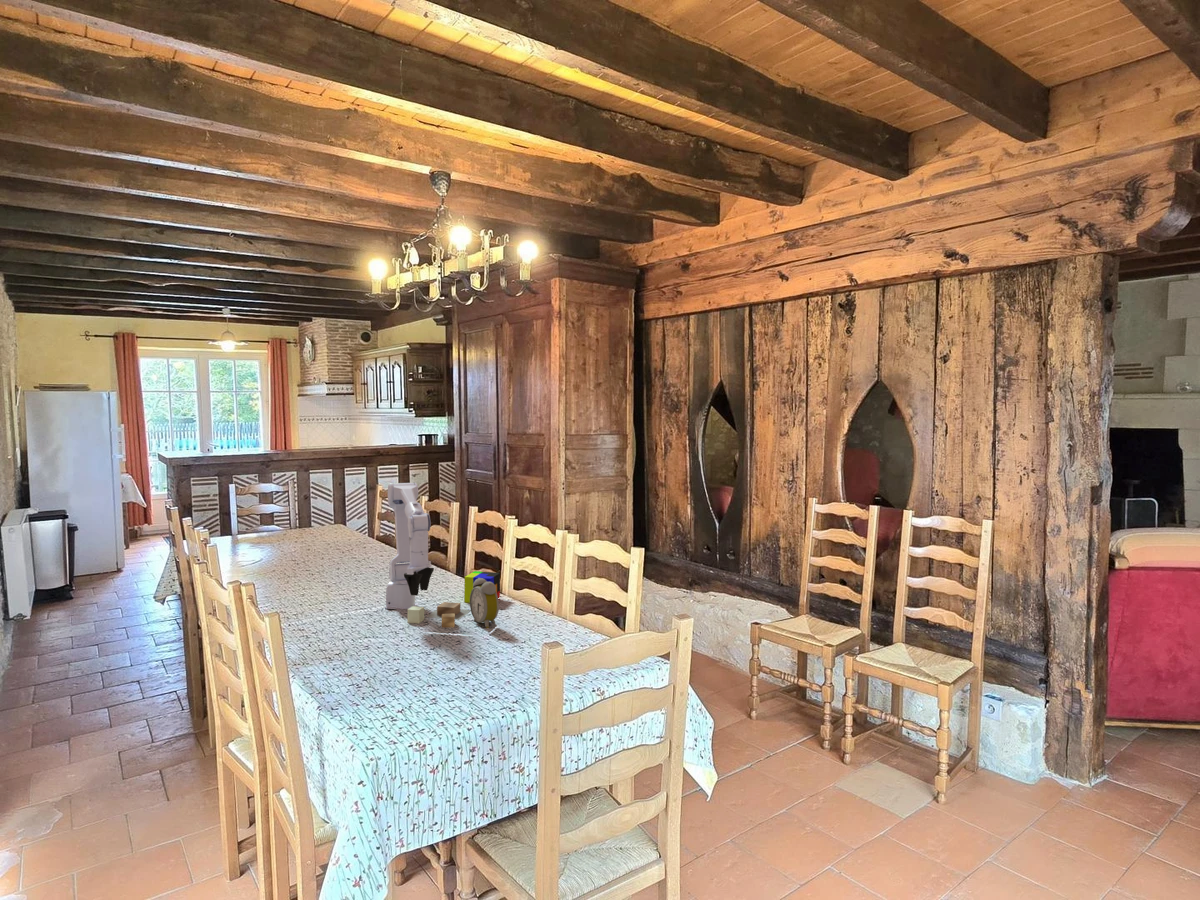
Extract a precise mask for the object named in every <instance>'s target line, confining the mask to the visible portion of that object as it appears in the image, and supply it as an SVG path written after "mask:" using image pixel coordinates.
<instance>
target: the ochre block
mask: <svg viewBox="0 0 1200 900" xmlns="http://www.w3.org/2000/svg"><path fill="white" fill-rule="evenodd" d="M455 622H456V620H455V614H442V619H441V628H442V629H443V628H455V624H456V623H455Z"/></svg>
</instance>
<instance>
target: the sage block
mask: <svg viewBox="0 0 1200 900" xmlns="http://www.w3.org/2000/svg"><path fill="white" fill-rule="evenodd" d="M406 619H407V622H406V623H407V624H421V623H422V622H423V621H424V620H425V607H424V606H418V605H416V606H412V607H411V608H409V609H407V618H406Z"/></svg>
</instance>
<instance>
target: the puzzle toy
mask: <svg viewBox="0 0 1200 900" xmlns="http://www.w3.org/2000/svg"><path fill="white" fill-rule="evenodd" d="M478 578H483V579H485V580H486V581H487V582H492V583H494V584H495V586H496V593H497V596H498V598H499V597H500V598H501V572H491V571H478V570H475V571H472V572H471V573H469V574H467V575H465V576H464V588H463V589H464V590H463V591H464V595H463V597H464V601H463V603H466V604H467V603H469V604H470V595H471V591H472V589H473V583H474V581H475V580H476V579H478Z"/></svg>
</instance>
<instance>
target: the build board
mask: <svg viewBox="0 0 1200 900" xmlns="http://www.w3.org/2000/svg"><path fill="white" fill-rule="evenodd" d="M470 612H471V609H462V608H460V612H459V613H458V614H457V615H455V621H456V620H458V621H460V620H461V619H462V618H463V617H465V616H467V614H468V613H470ZM425 618H427V619H429V618H430V619H431V618H432V619H441V620H442V616H439V615H437V609H435V610H433V611H432V612H431V613H429V614H428V615H426V616H425Z"/></svg>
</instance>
